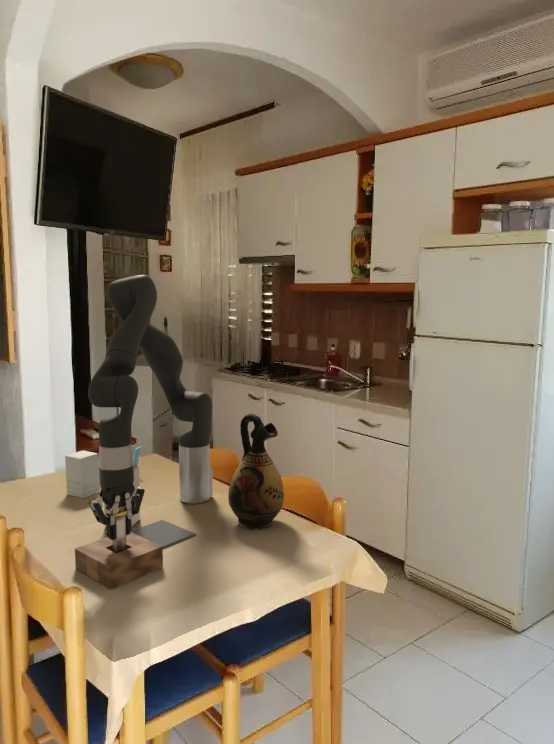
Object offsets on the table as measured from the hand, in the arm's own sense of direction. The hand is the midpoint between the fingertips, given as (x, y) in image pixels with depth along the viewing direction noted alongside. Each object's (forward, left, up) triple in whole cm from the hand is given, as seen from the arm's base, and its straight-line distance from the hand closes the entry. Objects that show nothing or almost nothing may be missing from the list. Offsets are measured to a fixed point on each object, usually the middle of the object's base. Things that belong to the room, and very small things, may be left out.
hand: (119, 536), depth 137 cm
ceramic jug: (-41, +4, -8) cm, 42 cm away
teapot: (-37, -57, -8) cm, 68 cm away
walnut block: (0, 0, -8) cm, 8 cm away
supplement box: (-22, -52, -8) cm, 57 cm away
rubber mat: (-17, -8, -8) cm, 20 cm away
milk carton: (-16, -22, -8) cm, 28 cm away
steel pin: (0, 0, -6) cm, 6 cm away
